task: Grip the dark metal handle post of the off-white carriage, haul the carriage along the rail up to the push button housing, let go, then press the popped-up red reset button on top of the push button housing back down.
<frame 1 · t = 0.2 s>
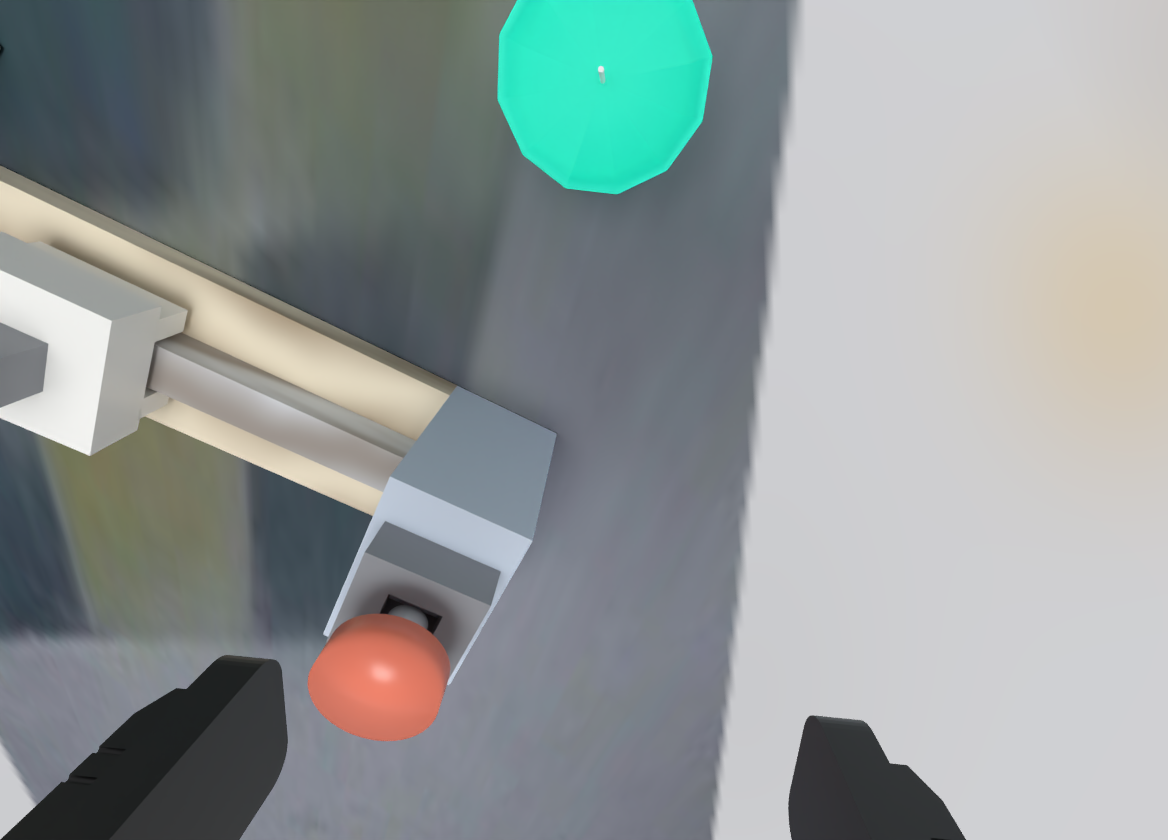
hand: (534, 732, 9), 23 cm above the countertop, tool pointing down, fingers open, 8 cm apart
reset button: (391, 655, 21), point 14 cm above the countertop, slide at 0.0 cm
push button housing: (476, 473, 33), on the countertop
candle: (607, 113, 25), on the countertop
rail: (221, 356, 31), on the countertop
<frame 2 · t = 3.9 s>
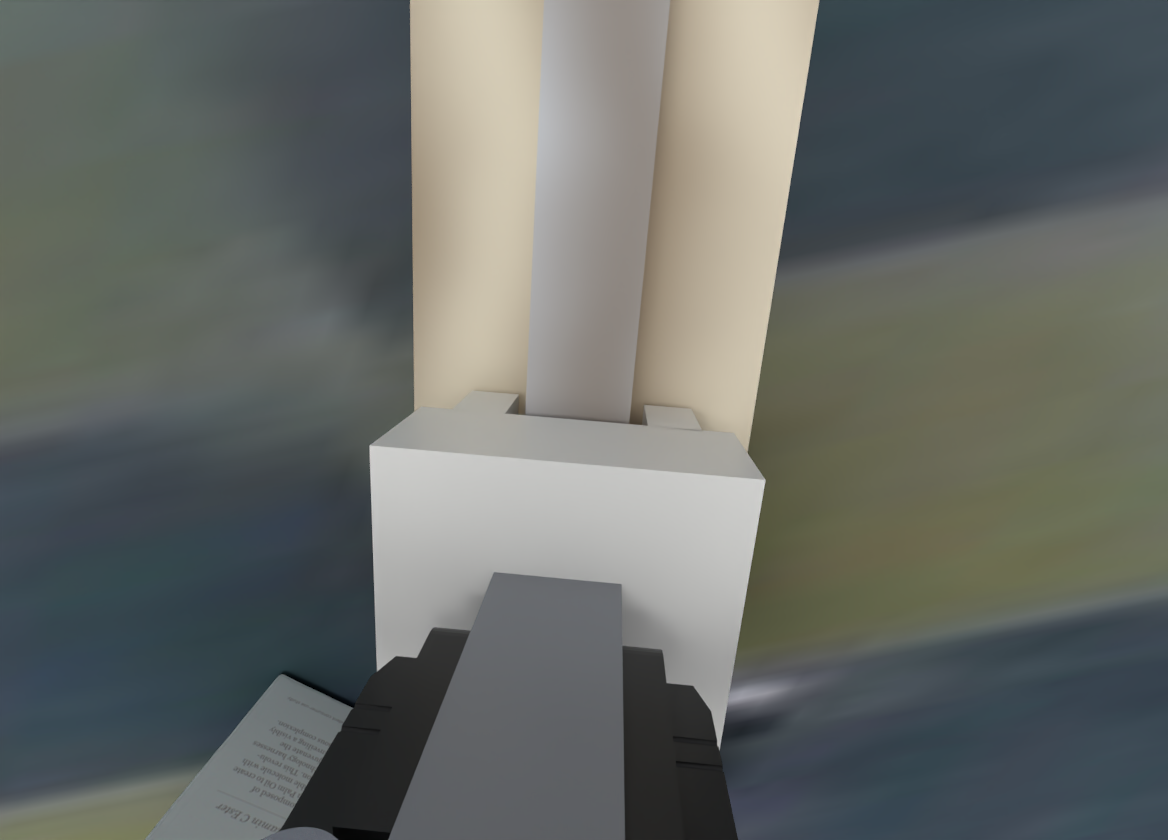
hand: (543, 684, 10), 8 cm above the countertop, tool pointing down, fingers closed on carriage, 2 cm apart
small box: (354, 772, 21), on the countertop
rail: (588, 348, 16), on the countertop
carriage: (543, 696, 9), point 8 cm above the countertop, slide at 0.0 cm, touching gripper
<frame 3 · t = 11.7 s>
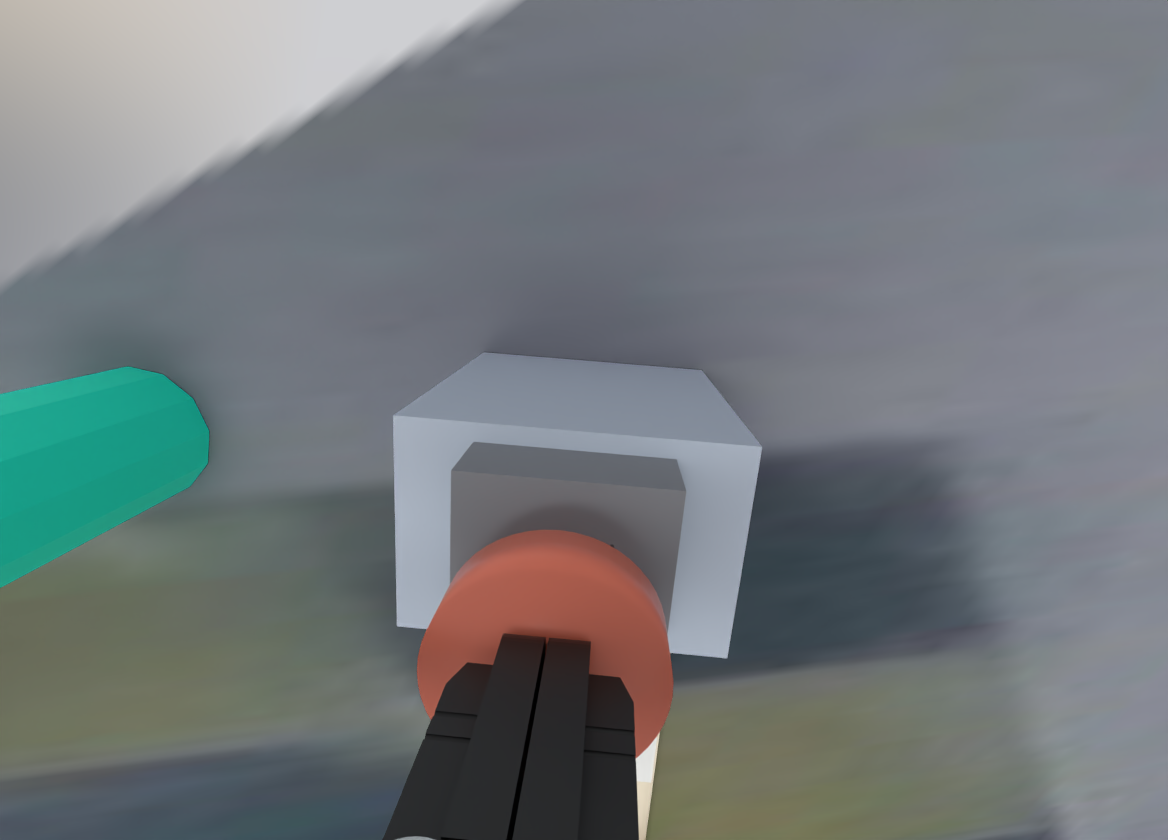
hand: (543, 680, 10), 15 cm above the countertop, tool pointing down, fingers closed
reset button: (554, 623, 11), point 13 cm above the countertop, slide at 0.1 cm, touching gripper
push button housing: (586, 430, 24), on the countertop
candle: (148, 431, 26), on the countertop
rail: (564, 718, 28), on the countertop
carriage: (556, 730, 18), point 8 cm above the countertop, slide at 11.9 cm
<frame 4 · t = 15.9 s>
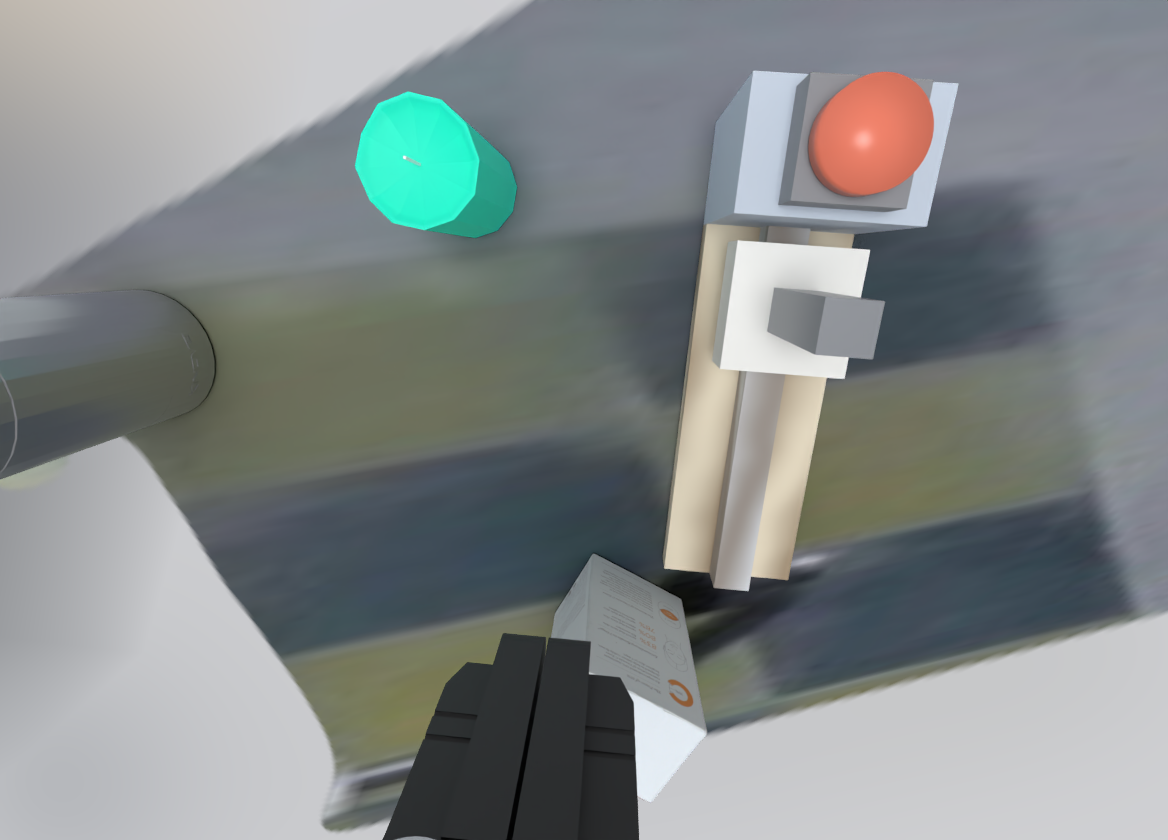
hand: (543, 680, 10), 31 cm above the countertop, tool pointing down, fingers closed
reset button: (858, 142, 24), point 12 cm above the countertop, slide at 1.6 cm
small box: (617, 604, 45), on the countertop
push button housing: (781, 179, 36), on the countertop
candle: (472, 189, 37), on the countertop
rail: (745, 410, 40), on the countertop
carriage: (801, 314, 30), point 8 cm above the countertop, slide at 11.9 cm
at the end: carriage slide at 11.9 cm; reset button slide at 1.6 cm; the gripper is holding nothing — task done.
